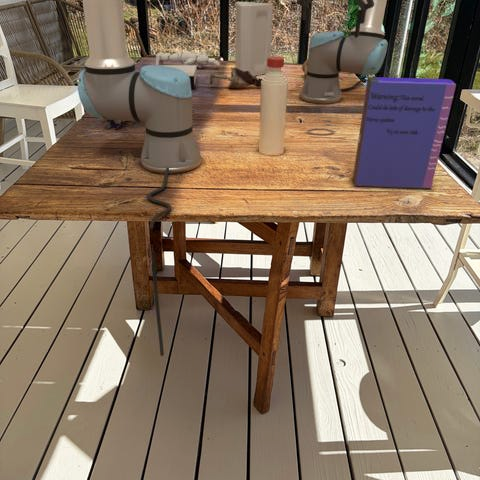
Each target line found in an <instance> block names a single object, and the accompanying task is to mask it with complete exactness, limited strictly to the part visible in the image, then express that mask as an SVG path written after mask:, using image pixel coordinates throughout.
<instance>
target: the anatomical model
mask: <svg viewBox="0 0 480 480" xmlns="http://www.w3.org/2000/svg"><path fill="white" fill-rule="evenodd" d="M307 68H308V58H306V60H305V61H304V62H303V64H302V66H301V70H302V72H303V73H304V74H303V75H304V77H306V78H307Z"/></svg>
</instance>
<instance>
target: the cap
mask: <svg viewBox="0 0 480 480" xmlns="http://www.w3.org/2000/svg"><path fill="white" fill-rule="evenodd" d="M267 66H268V67H272V68H281V69H282V68H283V67H284V66H285V57H283V56H271V57H268V60H267Z"/></svg>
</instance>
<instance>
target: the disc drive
mask: <svg viewBox="0 0 480 480" xmlns="http://www.w3.org/2000/svg"><path fill="white" fill-rule="evenodd" d="M162 65H163V66H169V67H174V68H177V69H180V70H182V71H184V72H185V73H187V74H188V76H189V78H190V83H191V90H195V87H196V81H197V78H198V67H197V65H196V64H193V65H184V64H179V65H178V64H162ZM157 66H158V65H157Z"/></svg>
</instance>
